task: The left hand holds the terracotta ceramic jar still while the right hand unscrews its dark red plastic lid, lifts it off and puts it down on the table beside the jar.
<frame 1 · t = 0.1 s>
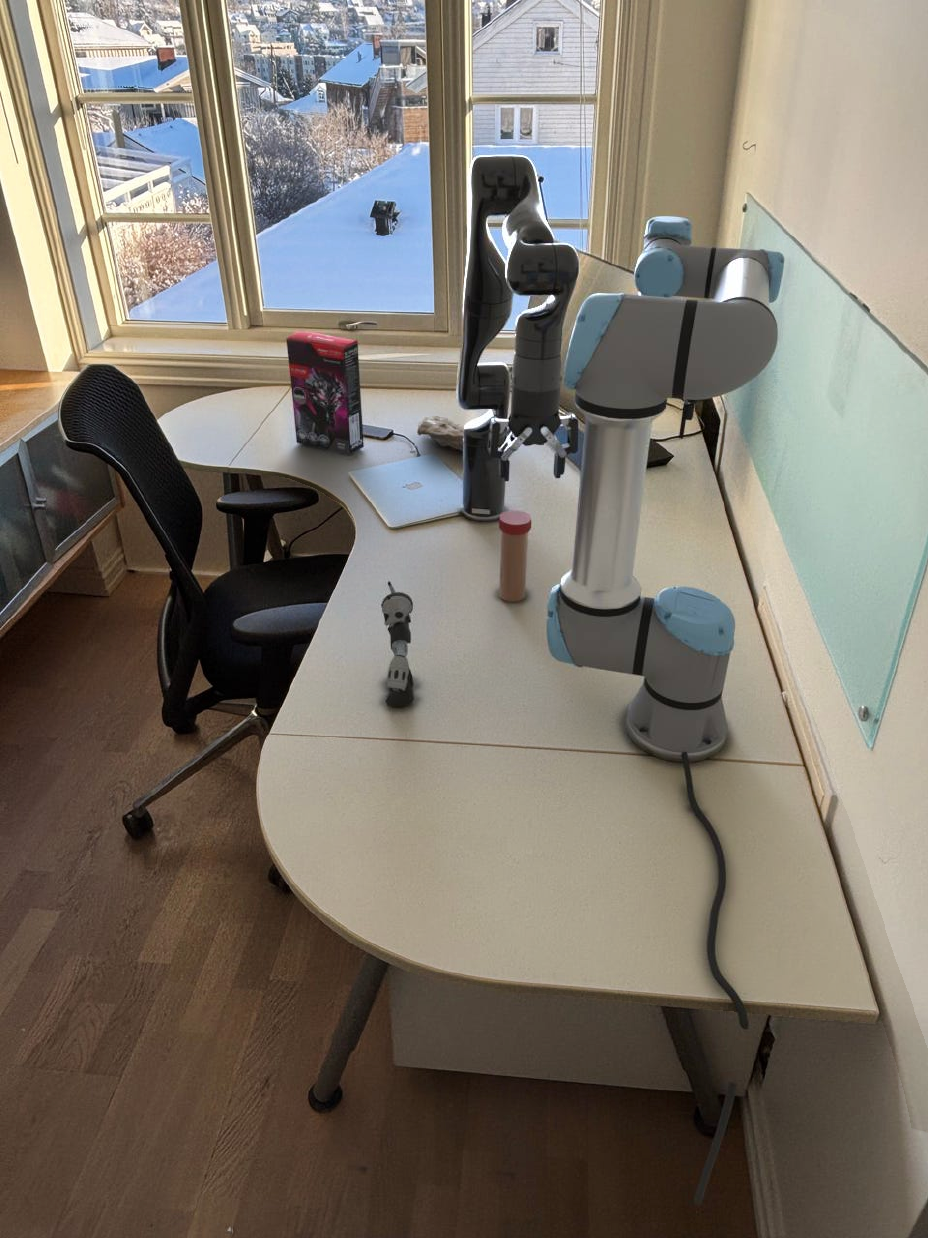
left hand: (531, 477, 150), 29 cm above the table, tool pointing down, fingers open, 8 cm apart
right hand: (643, 431, 170), 28 cm above the table, tool pointing down, fingers open, 13 cm apart
lid: (515, 519, 166), point 16 cm above the table, screwed on, not yet turned
stone: (453, 446, 234), on the table
jar: (512, 595, 175), on the table
graphics card box: (330, 446, 233), on the table
robot: (400, 693, 150), on the table
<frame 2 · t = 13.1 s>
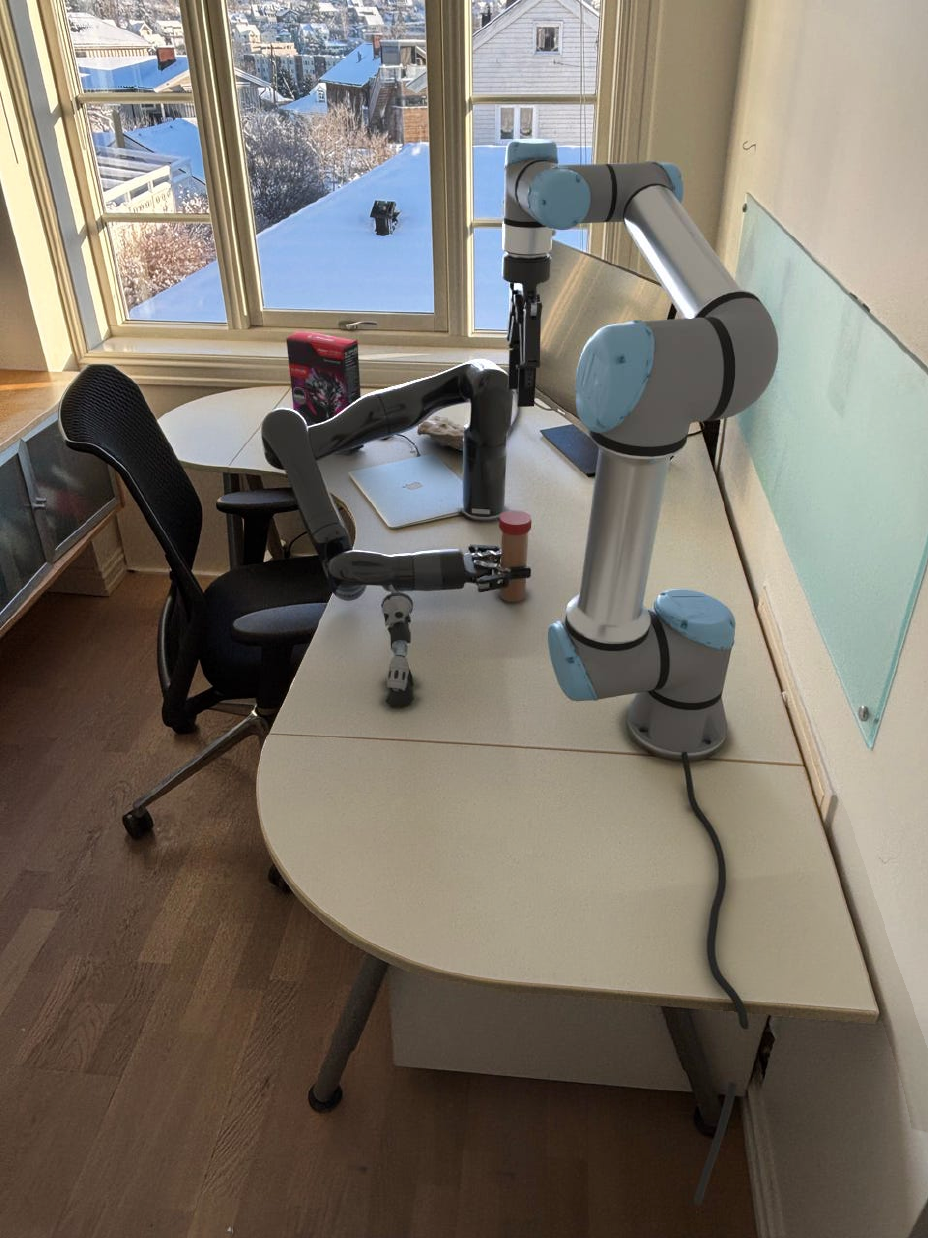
left hand: (527, 564, 172), 7 cm above the table, tool horizontal, fingers closed on jar, 5 cm apart
right hand: (520, 396, 154), 39 cm above the table, tool pointing down, fingers open, 8 cm apart
jar: (512, 595, 175), on the table, touching left hand
everything else where it was.
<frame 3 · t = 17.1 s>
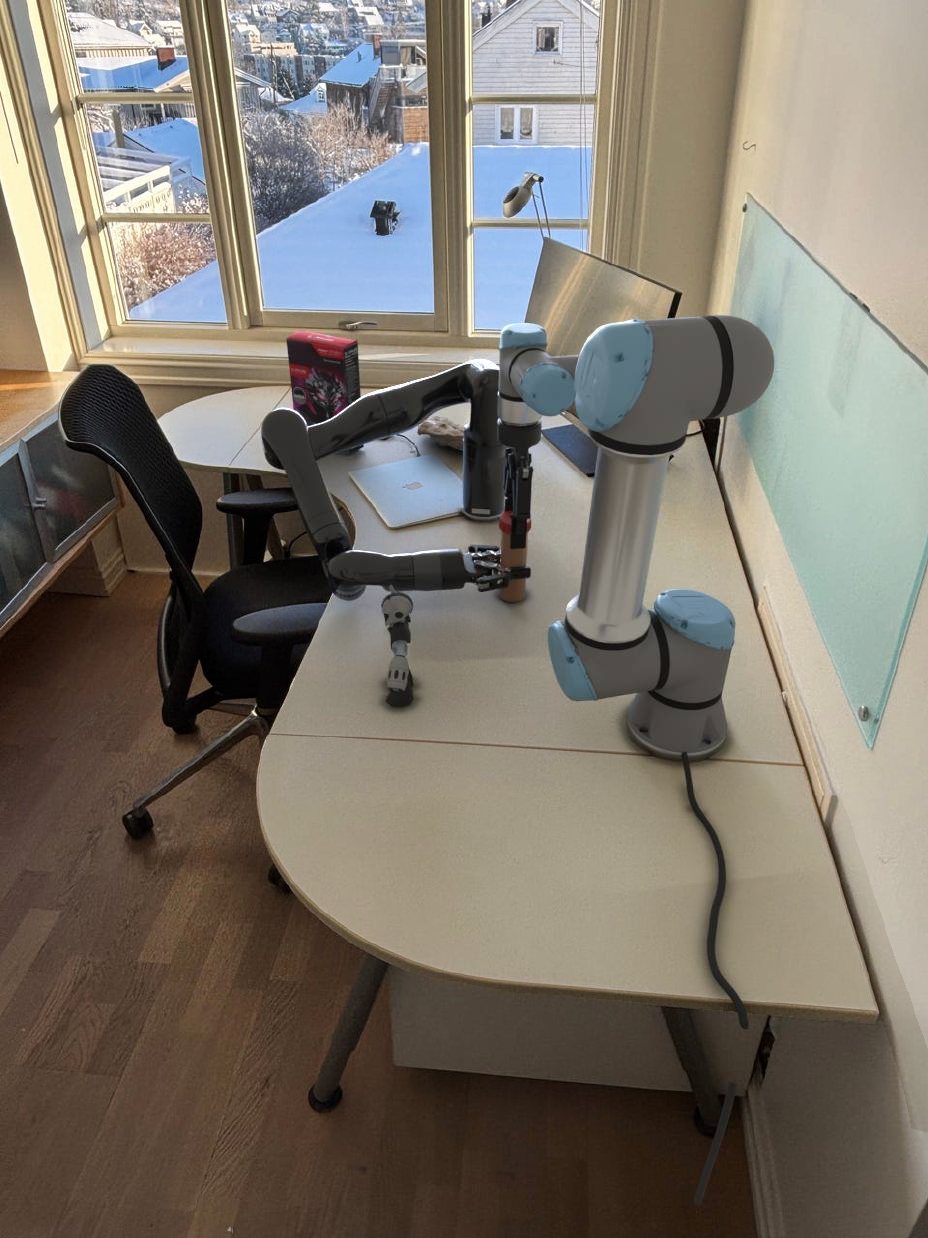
left hand: (527, 564, 172), 7 cm above the table, tool horizontal, fingers closed on jar, 5 cm apart
right hand: (514, 538, 169), 12 cm above the table, tool pointing down, fingers closed on lid, 6 cm apart
lid: (515, 519, 166), point 16 cm above the table, screwed on, not yet turned, touching right hand
jar: (511, 595, 175), on the table, touching left hand
everything else where it was.
when the right hand's fingers open (0 cm above the table, at t = 28.8 s): lid drops 2 cm, point 2 cm above the table.
when the left hand's fingers open (7 cm above the table, at t = 29.5 s): jar stays where it is, on the table.
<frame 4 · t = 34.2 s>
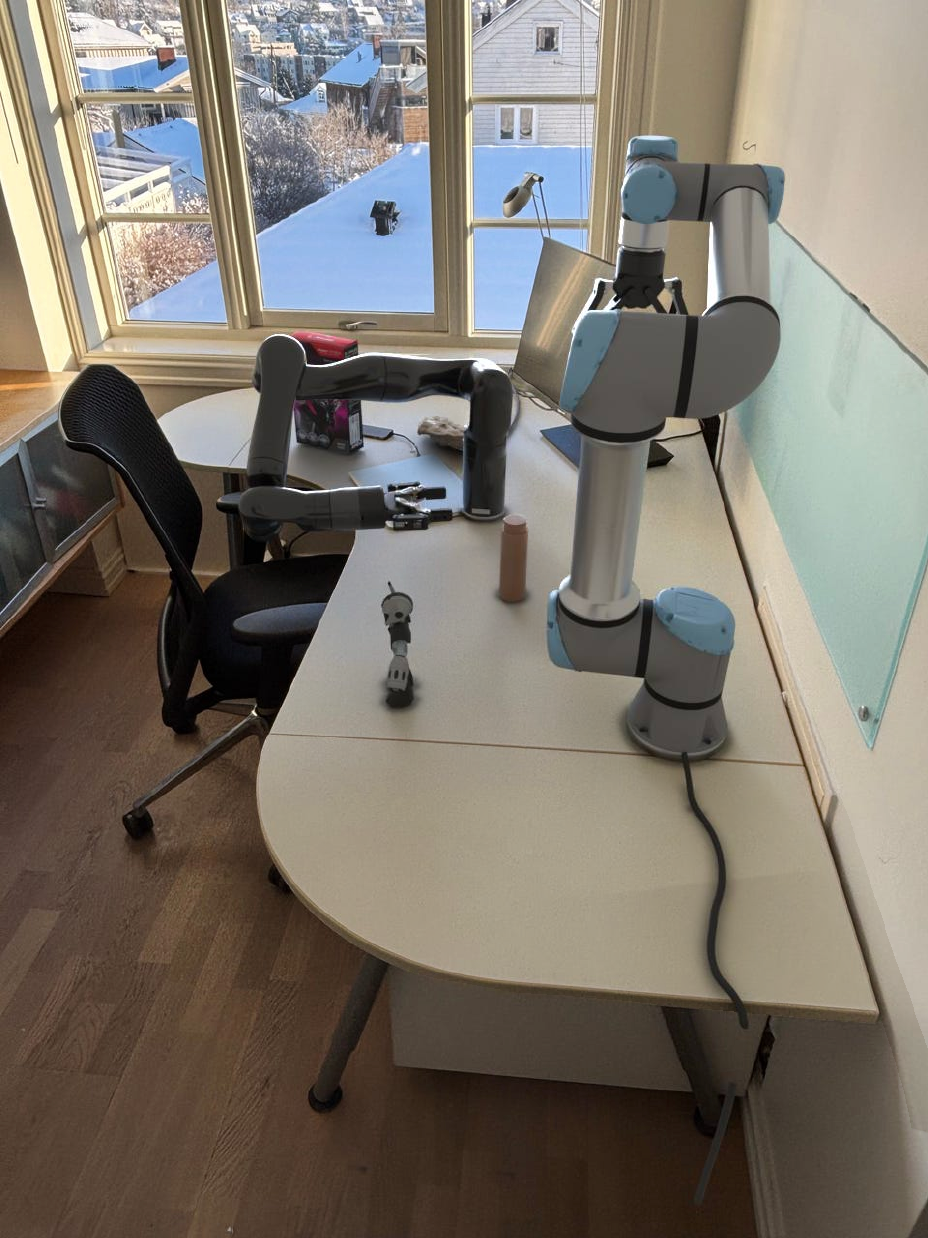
left hand: (449, 503, 163), 20 cm above the table, tool horizontal, fingers open, 8 cm apart
right hand: (627, 378, 157), 41 cm above the table, tool pointing down, fingers open, 13 cm apart
lid: (606, 573, 179), point 2 cm above the table, off its thread
jar: (511, 595, 175), on the table
everything else where it was.
at the end: lid came off its thread; lid point 1.7 cm above the table; the left hand is holding nothing; the right hand is holding nothing; jar tilted 0°; jar moved 0.0 cm from its start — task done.
